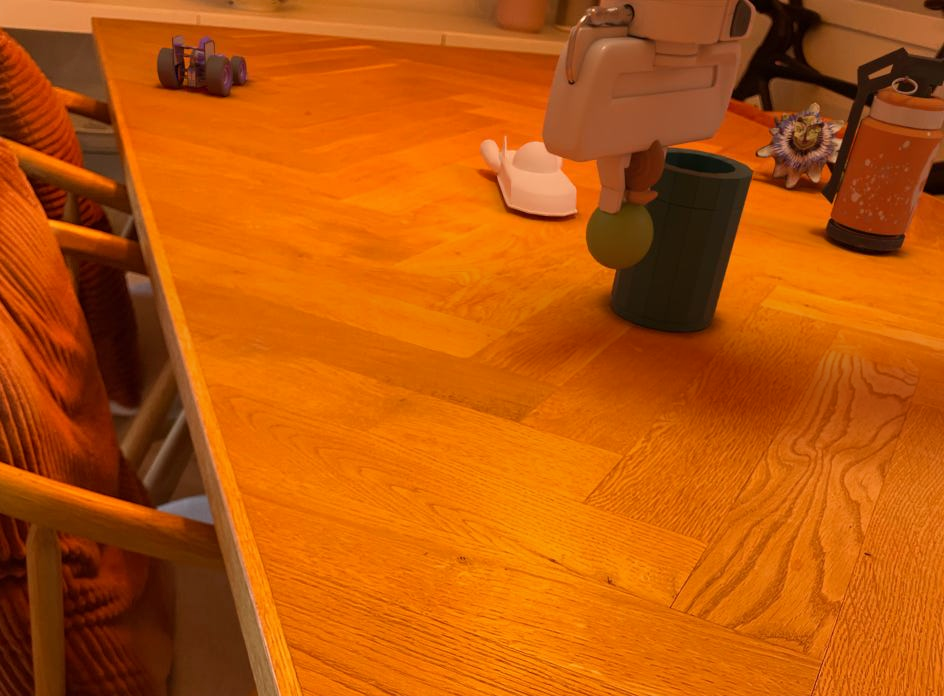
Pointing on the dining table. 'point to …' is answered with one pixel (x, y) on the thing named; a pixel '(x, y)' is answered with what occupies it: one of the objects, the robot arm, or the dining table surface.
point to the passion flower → (803, 146)
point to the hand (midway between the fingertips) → (621, 208)
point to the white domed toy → (531, 178)
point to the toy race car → (200, 67)
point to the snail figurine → (628, 215)
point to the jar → (685, 243)
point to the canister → (886, 152)
